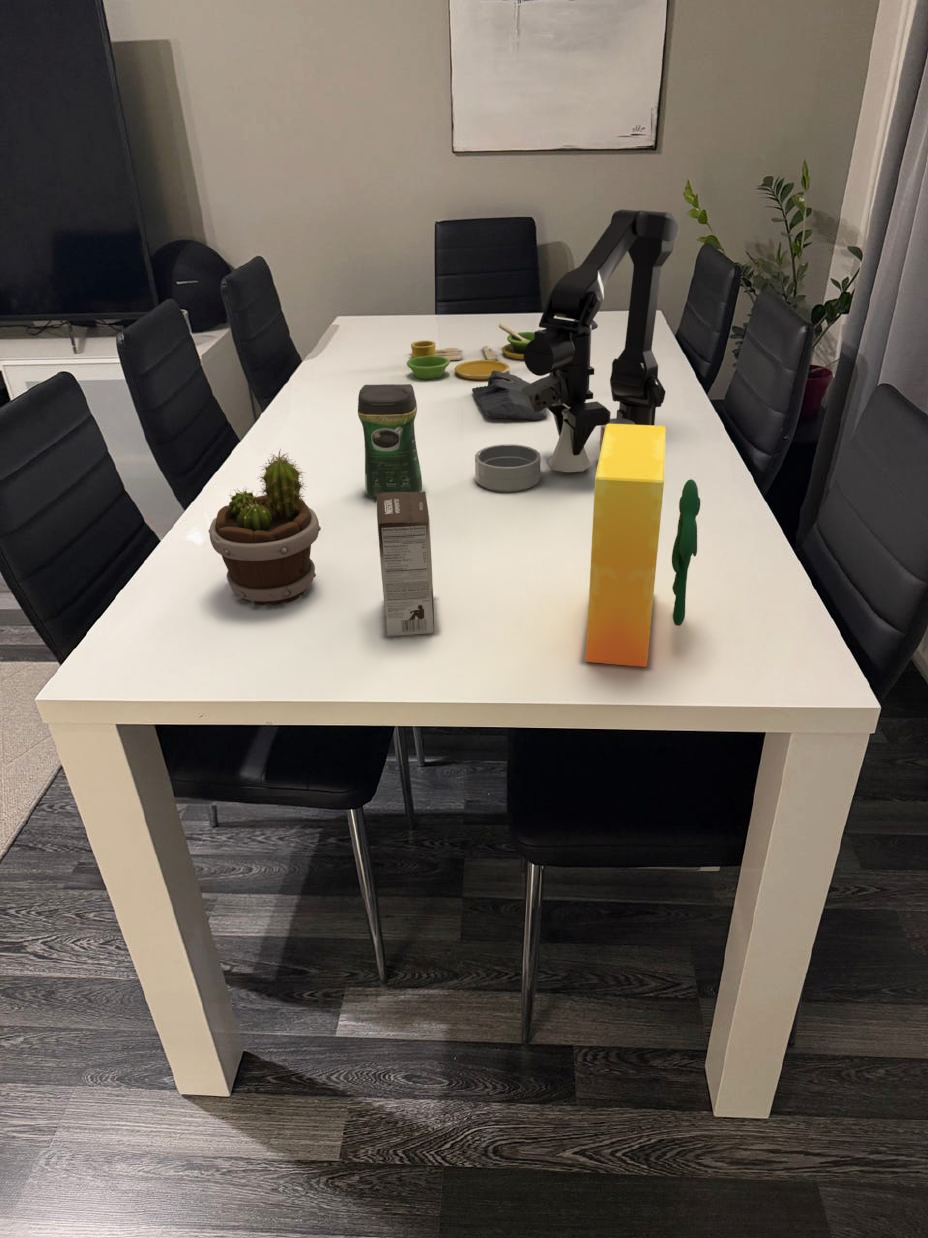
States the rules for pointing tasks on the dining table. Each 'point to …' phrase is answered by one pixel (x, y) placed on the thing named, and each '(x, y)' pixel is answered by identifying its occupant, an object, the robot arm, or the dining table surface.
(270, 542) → the flowerpot
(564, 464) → the flask
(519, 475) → the bowl
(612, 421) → the tin can
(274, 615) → the dining table surface
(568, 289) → the robot arm
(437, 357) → the tableware set
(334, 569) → the dining table surface
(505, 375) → the dark grey cloth
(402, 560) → the coffee box
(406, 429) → the coffee jar
